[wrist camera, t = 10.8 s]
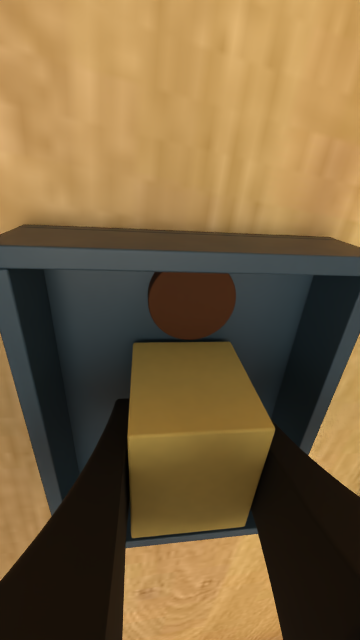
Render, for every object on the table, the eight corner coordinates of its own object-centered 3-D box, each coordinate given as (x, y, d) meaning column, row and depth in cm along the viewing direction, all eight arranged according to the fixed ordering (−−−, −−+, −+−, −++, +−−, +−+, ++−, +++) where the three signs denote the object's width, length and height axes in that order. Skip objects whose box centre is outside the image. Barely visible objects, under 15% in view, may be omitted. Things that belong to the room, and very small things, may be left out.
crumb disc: (224, 330, 12) (229, 340, 11) (147, 330, 11) (147, 340, 10) (236, 253, 10) (243, 260, 9) (148, 250, 10) (149, 256, 9)
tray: (256, 478, 18) (276, 532, 15) (75, 493, 16) (62, 555, 14) (330, 237, 11) (392, 257, 8) (22, 224, 9) (-26, 244, 7)
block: (215, 425, 14) (245, 527, 10) (134, 430, 13) (131, 539, 9) (230, 340, 11) (277, 429, 7) (132, 341, 11) (127, 437, 7)
